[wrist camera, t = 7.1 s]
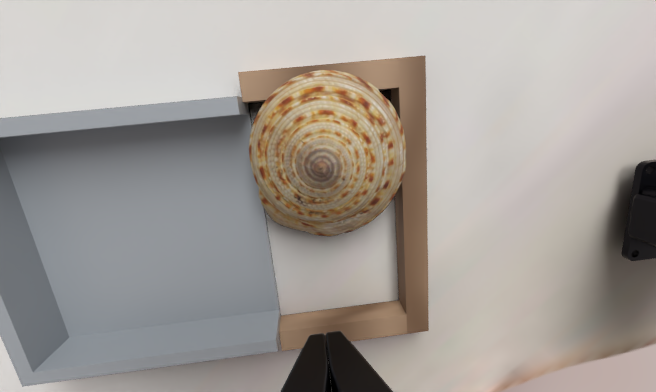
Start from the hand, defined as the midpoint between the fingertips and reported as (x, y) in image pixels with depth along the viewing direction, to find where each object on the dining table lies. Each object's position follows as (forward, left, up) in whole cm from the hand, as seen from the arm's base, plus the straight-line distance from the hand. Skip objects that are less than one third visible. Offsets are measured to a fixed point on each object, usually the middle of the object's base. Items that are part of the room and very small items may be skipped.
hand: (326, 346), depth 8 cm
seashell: (-1, 0, -12) cm, 12 cm away
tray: (+10, 0, -11) cm, 15 cm away
